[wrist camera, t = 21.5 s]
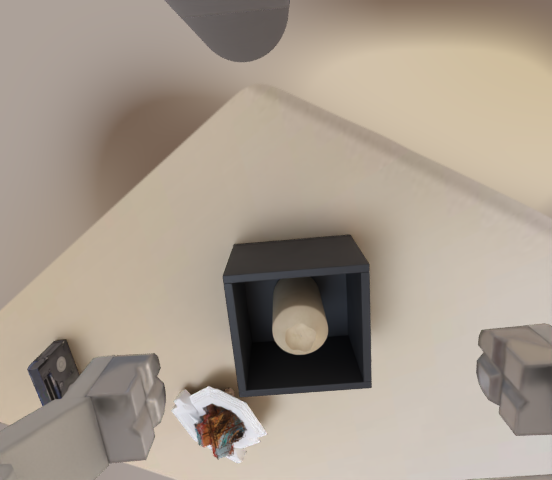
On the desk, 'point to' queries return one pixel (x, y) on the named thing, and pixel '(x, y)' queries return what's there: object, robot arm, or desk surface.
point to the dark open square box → (337, 306)
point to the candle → (298, 316)
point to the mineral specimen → (218, 421)
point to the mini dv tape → (53, 372)
